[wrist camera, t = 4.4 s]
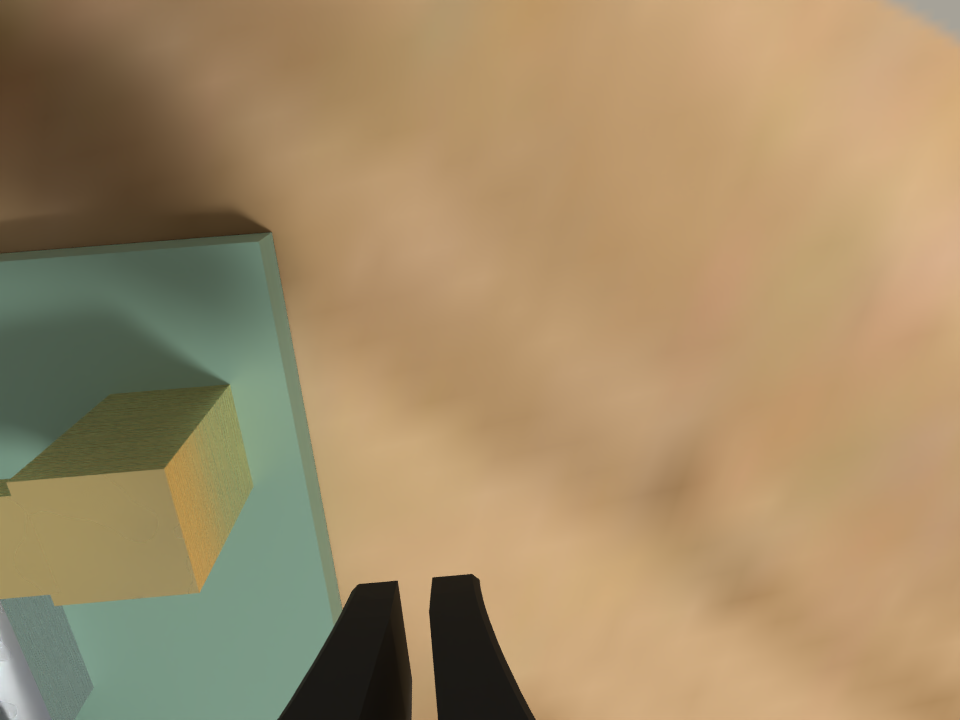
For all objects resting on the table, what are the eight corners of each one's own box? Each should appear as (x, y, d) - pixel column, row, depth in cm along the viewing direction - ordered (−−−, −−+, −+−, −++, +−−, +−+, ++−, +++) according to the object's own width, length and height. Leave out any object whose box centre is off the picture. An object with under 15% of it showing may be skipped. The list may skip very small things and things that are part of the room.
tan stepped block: (253, 486, 17) (199, 592, 13) (27, 505, 17) (-92, 619, 13) (230, 384, 16) (163, 469, 12) (-12, 404, 16) (-154, 496, 12)
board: (374, 783, 23) (357, 951, 19) (-73, 827, 23) (-204, 1008, 18) (271, 232, 16) (201, 282, 11) (-386, 283, 16) (-737, 357, 11)
